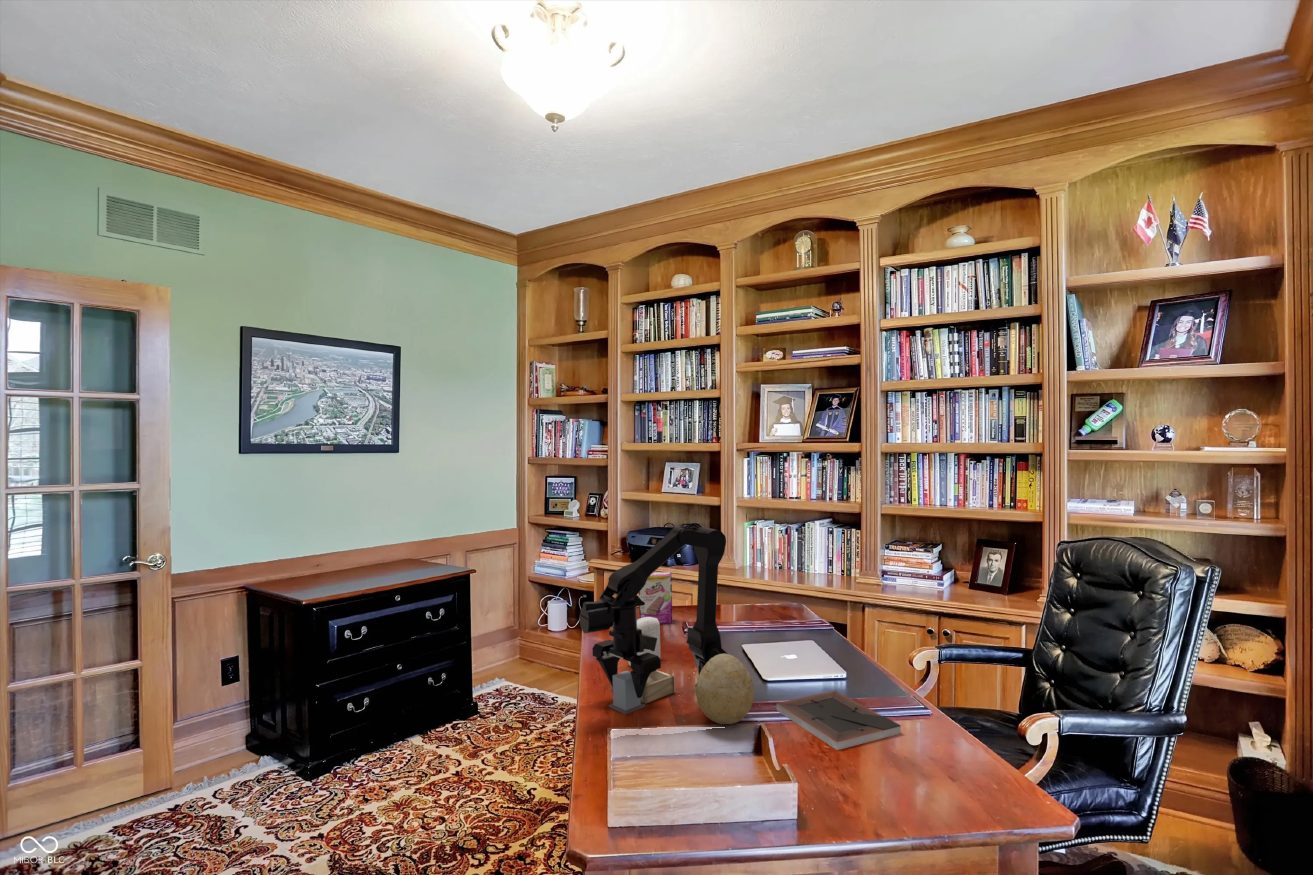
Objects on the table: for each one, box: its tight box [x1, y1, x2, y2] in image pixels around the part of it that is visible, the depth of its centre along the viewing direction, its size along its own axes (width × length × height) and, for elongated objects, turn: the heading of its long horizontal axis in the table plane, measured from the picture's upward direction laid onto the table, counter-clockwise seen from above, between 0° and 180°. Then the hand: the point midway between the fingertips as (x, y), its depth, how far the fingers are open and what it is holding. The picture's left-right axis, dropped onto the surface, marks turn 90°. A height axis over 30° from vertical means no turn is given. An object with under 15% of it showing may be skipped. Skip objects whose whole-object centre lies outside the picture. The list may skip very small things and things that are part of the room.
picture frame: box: [776, 690, 902, 751], centre depth 151 cm, size 16×2×22 cm
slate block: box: [612, 670, 641, 710], centre depth 161 cm, size 4×4×7 cm
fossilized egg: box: [695, 653, 755, 725], centre depth 152 cm, size 13×13×15 cm
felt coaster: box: [608, 702, 646, 715], centre depth 161 cm, size 6×6×1 cm
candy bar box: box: [638, 571, 673, 625], centre depth 230 cm, size 11×5×16 cm, turn 91°
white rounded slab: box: [627, 617, 661, 667], centre depth 192 cm, size 10×4×12 cm, turn 134°
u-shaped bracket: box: [610, 669, 675, 705], centre depth 171 cm, size 13×10×4 cm
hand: (626, 692), depth 161 cm, fingers open, 9 cm apart
